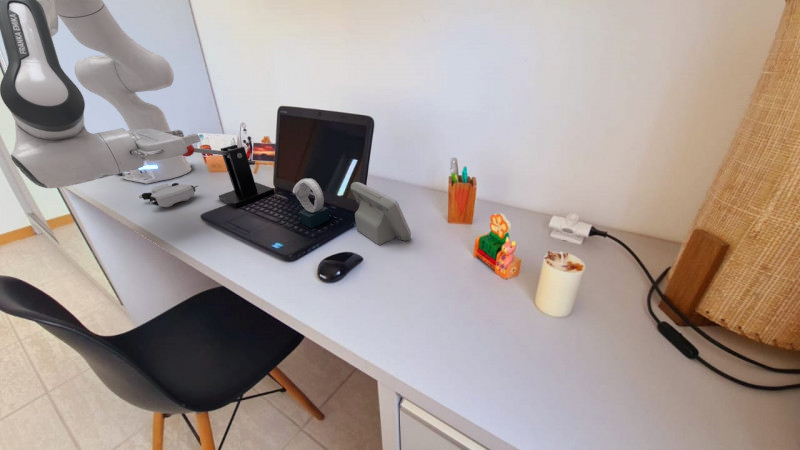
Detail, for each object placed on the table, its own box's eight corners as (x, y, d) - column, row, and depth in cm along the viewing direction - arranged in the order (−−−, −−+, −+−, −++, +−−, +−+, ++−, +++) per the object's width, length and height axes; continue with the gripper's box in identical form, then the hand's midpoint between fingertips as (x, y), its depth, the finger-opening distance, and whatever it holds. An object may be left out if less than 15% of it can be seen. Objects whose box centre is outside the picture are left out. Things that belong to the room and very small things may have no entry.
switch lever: (180, 156, 79) (180, 141, 78) (174, 154, 81) (174, 139, 80) (242, 162, 91) (243, 149, 90) (235, 160, 93) (236, 147, 92)
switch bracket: (236, 208, 90) (219, 156, 83) (219, 200, 96) (201, 151, 89) (274, 193, 98) (261, 144, 91) (257, 186, 104) (243, 140, 97)
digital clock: (415, 242, 70) (413, 197, 65) (376, 254, 67) (371, 208, 62) (383, 213, 83) (379, 173, 78) (349, 222, 80) (343, 181, 74)
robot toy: (140, 206, 97) (160, 214, 89) (132, 192, 95) (152, 199, 87) (182, 191, 106) (204, 197, 98) (176, 178, 104) (198, 183, 95)
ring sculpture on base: (314, 212, 85) (306, 173, 80) (334, 221, 80) (327, 179, 75) (296, 221, 82) (286, 180, 76) (316, 230, 77) (306, 187, 71)
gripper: (132, 141, 64) (204, 126, 74) (104, 130, 76) (169, 118, 85) (146, 172, 67) (213, 153, 77) (117, 157, 79) (178, 142, 88)
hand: (189, 135), depth 81 cm, fingers open, 8 cm apart
